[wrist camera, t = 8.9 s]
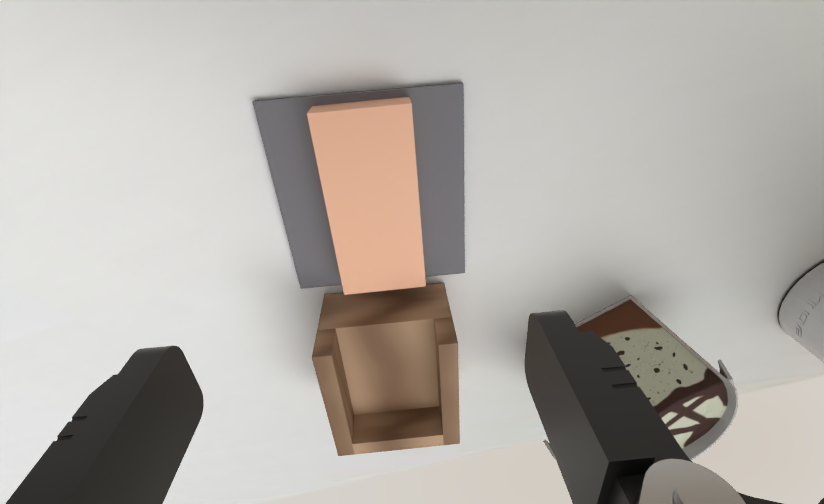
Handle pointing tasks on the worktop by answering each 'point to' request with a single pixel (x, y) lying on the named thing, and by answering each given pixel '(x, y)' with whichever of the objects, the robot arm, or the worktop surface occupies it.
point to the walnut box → (389, 369)
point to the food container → (668, 374)
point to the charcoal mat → (302, 189)
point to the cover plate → (371, 192)
